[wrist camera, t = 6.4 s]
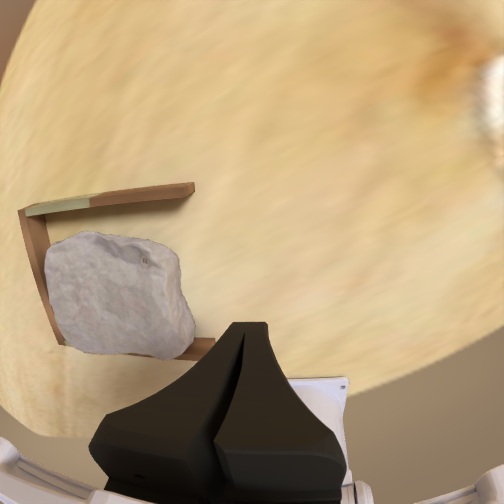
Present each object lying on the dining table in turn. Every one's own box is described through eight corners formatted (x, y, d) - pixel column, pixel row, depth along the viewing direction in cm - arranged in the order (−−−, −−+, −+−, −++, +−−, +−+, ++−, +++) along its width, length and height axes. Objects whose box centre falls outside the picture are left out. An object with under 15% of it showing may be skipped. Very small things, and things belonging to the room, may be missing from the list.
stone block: (66, 231, 25) (85, 336, 26) (32, 238, 20) (57, 356, 21) (187, 218, 24) (201, 340, 25) (166, 222, 19) (186, 368, 20)
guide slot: (215, 344, 24) (210, 361, 22) (70, 332, 26) (58, 344, 24) (194, 182, 20) (183, 187, 18) (34, 203, 22) (17, 210, 20)
